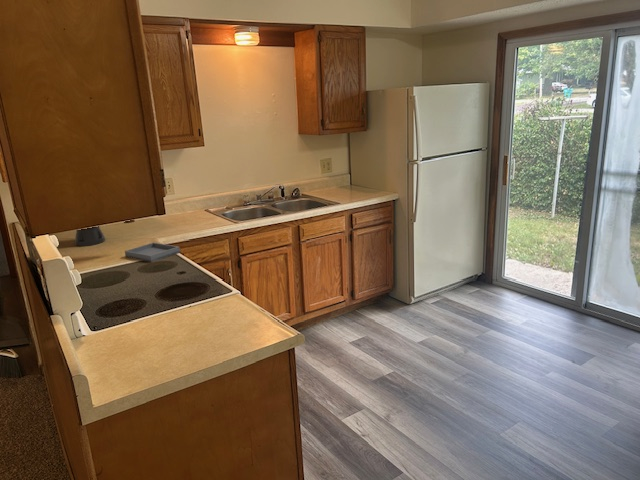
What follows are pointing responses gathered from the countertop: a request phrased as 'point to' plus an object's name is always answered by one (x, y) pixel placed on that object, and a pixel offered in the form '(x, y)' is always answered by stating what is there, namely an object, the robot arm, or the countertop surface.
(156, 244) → the serving tray
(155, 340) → the countertop surface
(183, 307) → the countertop surface
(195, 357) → the countertop surface
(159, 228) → the countertop surface
